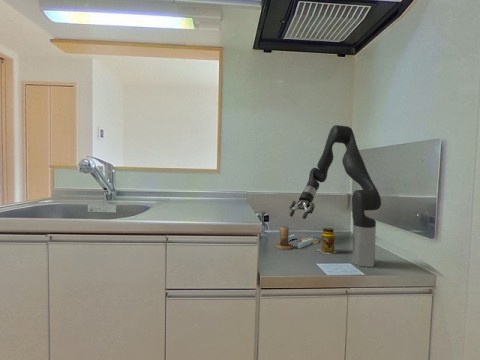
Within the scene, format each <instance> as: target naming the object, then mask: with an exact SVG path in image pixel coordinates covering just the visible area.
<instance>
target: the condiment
mask: <svg viewBox="0 0 480 360" xmlns="http://www.w3.org/2000/svg"><path fill="white" fill-rule="evenodd" d="M334 232H335V230H334V228H332V227H324V228H323V229H322V233H321V248H319V249H316V251H317V252H321V253H323V254H326V255H333V254H336V253H338V251H336V250H335V233H334Z"/></svg>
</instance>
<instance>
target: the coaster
mask: <svg viewBox="0 0 480 360" xmlns="http://www.w3.org/2000/svg"><path fill="white" fill-rule="evenodd" d="M311 238H312V237H305V238H301V240H302V242H303V241H306V240H308V239H311ZM319 243H320V240H319V238H313V242H312V243H311V244H310V245H316V244H319Z"/></svg>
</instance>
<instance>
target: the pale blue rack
mask: <svg viewBox="0 0 480 360" xmlns="http://www.w3.org/2000/svg"><path fill="white" fill-rule="evenodd" d="M310 238H311V239H308V240H306V241H303V242H302V239H299V240H300V241H298V242H297V249H302V248H304V247H306V246H309V245H312V244H311V243H312V242H313V238H312V237H310ZM292 239H296V235H295V234H292V235H289V237H288V242H291V241H293V240H292ZM290 240H291V241H290Z"/></svg>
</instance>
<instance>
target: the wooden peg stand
mask: <svg viewBox="0 0 480 360" xmlns="http://www.w3.org/2000/svg"><path fill="white" fill-rule="evenodd" d="M289 231H290V229H289V227H288V226H285V225H282V226H280V227H279V242H278V243H276V244H275V248H276V249H277V248H278V249H277V250H280V249H282V250H281V251H290V249H291V250H292V249H294V247H293V244H292V243H290V242H289V241H288V237H289V236H290V235H289V233H290V232H289Z"/></svg>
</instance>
